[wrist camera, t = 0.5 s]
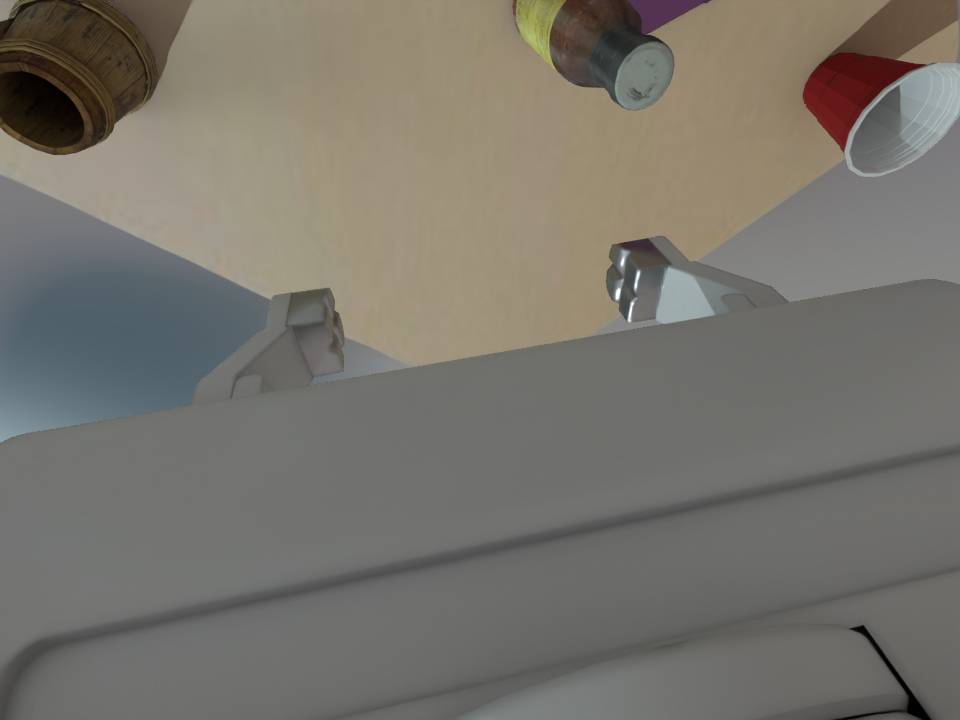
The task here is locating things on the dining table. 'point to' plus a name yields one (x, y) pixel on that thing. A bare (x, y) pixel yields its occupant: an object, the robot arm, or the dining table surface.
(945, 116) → the plastic cup
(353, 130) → the dining table surface
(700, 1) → the purple flat rectangular panel
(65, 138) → the wooden mug
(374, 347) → the dining table surface
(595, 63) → the sauce bottle
